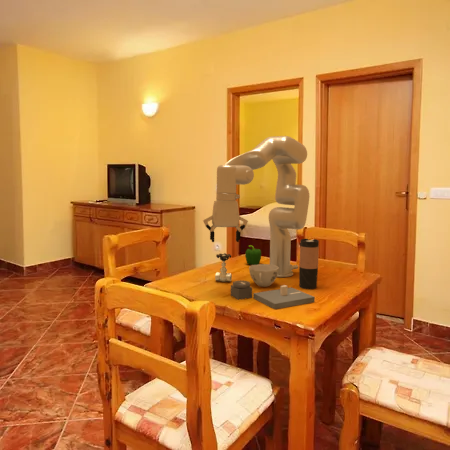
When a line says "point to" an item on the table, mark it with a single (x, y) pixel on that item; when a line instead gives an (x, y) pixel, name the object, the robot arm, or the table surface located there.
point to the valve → (223, 269)
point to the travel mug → (308, 263)
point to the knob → (241, 289)
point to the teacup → (263, 274)
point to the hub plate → (283, 297)
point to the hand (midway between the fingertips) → (225, 241)
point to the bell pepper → (253, 256)
